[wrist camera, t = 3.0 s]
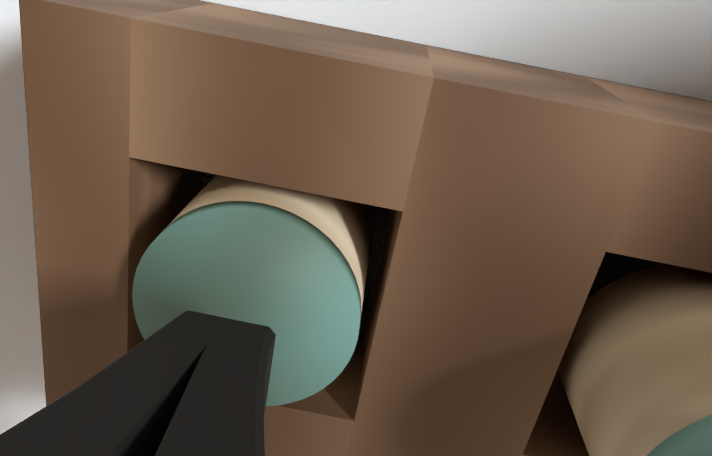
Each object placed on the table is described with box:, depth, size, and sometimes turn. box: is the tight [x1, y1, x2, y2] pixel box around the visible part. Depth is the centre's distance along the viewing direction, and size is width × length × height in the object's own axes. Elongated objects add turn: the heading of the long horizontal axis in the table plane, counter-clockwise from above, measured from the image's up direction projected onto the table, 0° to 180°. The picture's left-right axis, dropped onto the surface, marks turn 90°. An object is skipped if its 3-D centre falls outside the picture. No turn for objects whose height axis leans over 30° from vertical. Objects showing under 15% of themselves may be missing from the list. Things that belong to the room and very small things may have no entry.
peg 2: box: [558, 264, 712, 456], centre depth 9 cm, size 4×4×4 cm
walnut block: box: [19, 0, 712, 456], centre depth 12 cm, size 16×9×4 cm, turn 79°
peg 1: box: [132, 175, 373, 406], centre depth 12 cm, size 4×4×4 cm
